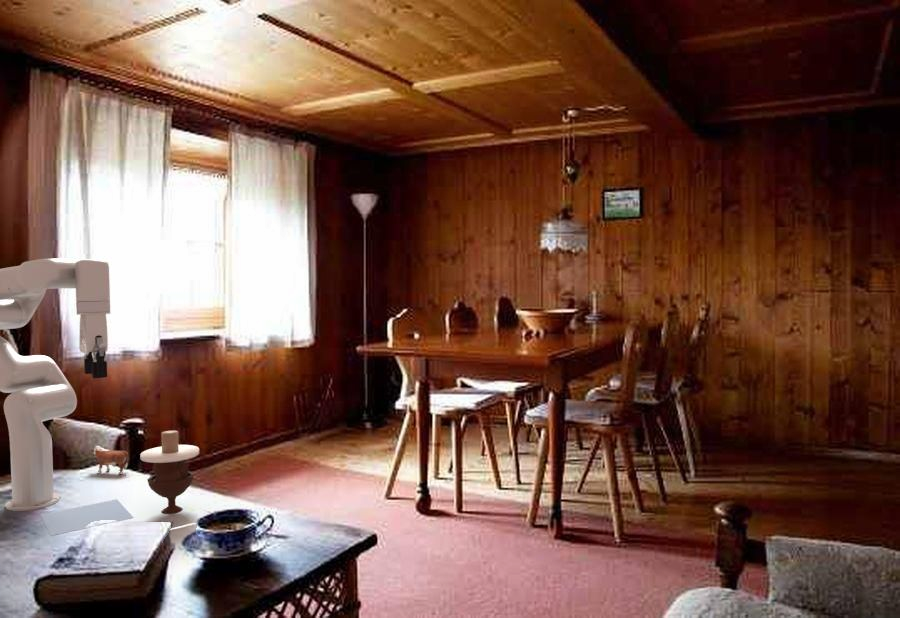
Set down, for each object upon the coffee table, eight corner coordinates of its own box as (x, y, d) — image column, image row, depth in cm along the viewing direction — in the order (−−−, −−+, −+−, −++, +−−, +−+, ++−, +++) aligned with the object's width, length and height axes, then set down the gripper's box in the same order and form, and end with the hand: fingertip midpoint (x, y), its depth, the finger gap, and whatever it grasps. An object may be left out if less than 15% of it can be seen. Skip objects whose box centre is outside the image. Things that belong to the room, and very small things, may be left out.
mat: (40, 516, 167) (39, 514, 167) (116, 501, 179) (116, 499, 179) (51, 537, 153) (50, 535, 153) (133, 519, 165) (133, 517, 165)
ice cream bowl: (178, 521, 163) (177, 462, 163) (139, 518, 166) (137, 459, 165) (203, 506, 174) (201, 451, 173) (165, 504, 176) (164, 449, 175)
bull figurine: (98, 469, 210) (97, 443, 209) (132, 472, 206) (131, 446, 205) (86, 472, 205) (86, 447, 205) (121, 476, 202) (120, 450, 201)
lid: (134, 454, 170) (133, 431, 170) (189, 445, 179) (188, 424, 179) (149, 466, 159) (148, 441, 159) (207, 456, 168) (206, 433, 168)
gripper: (70, 307, 169) (72, 373, 170) (83, 309, 156) (85, 381, 156) (102, 306, 174) (104, 370, 175) (117, 308, 160) (120, 377, 161)
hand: (95, 375), depth 165 cm, fingers open, 9 cm apart
